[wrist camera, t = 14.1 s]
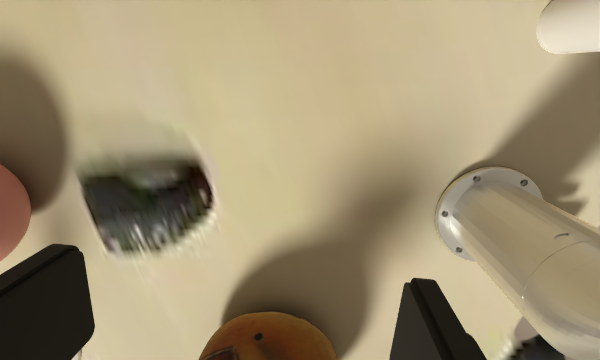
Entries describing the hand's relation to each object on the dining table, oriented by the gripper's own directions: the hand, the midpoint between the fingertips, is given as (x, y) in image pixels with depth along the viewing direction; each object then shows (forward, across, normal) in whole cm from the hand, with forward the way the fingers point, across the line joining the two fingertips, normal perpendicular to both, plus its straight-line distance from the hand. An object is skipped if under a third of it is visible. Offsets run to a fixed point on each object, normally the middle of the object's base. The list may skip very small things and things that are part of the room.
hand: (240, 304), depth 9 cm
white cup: (+31, -27, -14) cm, 43 cm away
